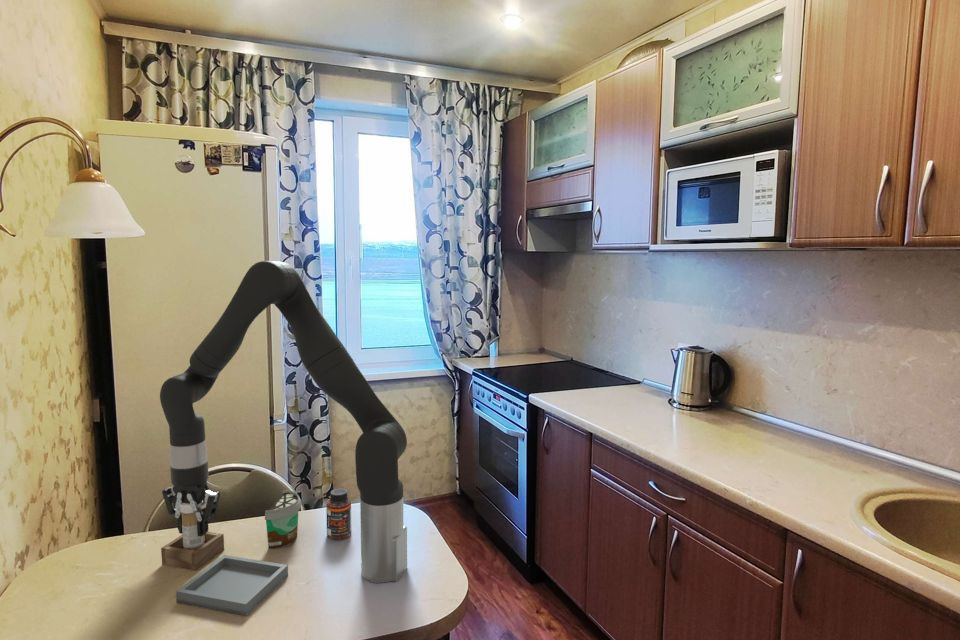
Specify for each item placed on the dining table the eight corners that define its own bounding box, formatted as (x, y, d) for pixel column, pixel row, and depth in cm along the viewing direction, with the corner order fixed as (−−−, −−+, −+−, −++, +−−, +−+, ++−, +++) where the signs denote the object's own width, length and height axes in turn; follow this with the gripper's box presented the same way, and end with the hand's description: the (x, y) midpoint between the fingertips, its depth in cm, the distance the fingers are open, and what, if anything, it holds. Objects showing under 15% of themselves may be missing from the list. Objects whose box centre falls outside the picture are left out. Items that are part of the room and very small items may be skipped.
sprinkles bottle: (206, 550, 131) (203, 495, 130) (204, 560, 127) (201, 503, 125) (184, 553, 130) (181, 498, 128) (181, 564, 125) (178, 506, 124)
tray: (288, 576, 121) (287, 565, 121) (246, 616, 108) (245, 604, 107) (224, 565, 125) (224, 554, 125) (176, 602, 112) (176, 591, 111)
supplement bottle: (328, 543, 135) (327, 498, 134) (325, 531, 141) (324, 488, 139) (353, 538, 138) (352, 494, 136) (349, 527, 143) (348, 485, 142)
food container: (292, 552, 131) (290, 511, 130) (265, 552, 131) (264, 511, 130) (309, 527, 143) (308, 489, 142) (285, 526, 143) (283, 489, 142)
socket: (224, 550, 132) (223, 533, 131) (196, 570, 123) (195, 553, 122) (191, 544, 134) (191, 528, 133) (162, 564, 125) (161, 548, 125)
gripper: (227, 458, 127) (231, 529, 129) (175, 452, 131) (179, 522, 133) (204, 470, 120) (208, 545, 122) (149, 464, 124) (154, 537, 126)
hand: (193, 533), depth 128 cm, fingers closed on sprinkles bottle, 4 cm apart
